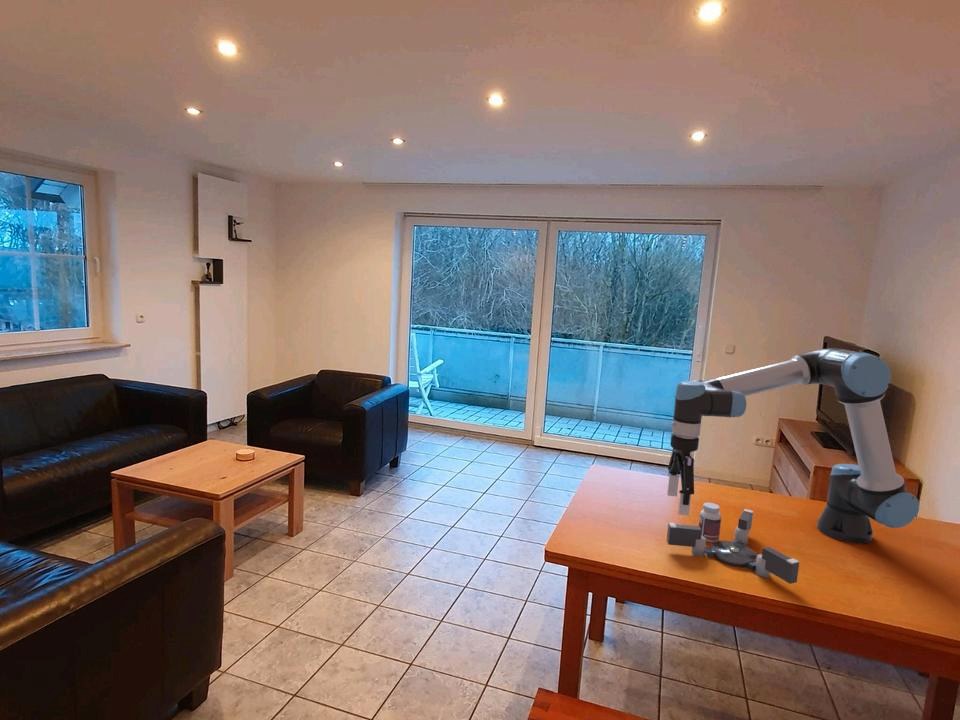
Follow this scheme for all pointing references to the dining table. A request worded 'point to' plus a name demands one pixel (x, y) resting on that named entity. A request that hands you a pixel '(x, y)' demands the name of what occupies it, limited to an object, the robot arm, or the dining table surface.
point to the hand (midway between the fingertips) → (677, 504)
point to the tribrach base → (733, 554)
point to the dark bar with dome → (687, 537)
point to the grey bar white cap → (777, 565)
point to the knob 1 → (743, 527)
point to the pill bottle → (710, 522)
